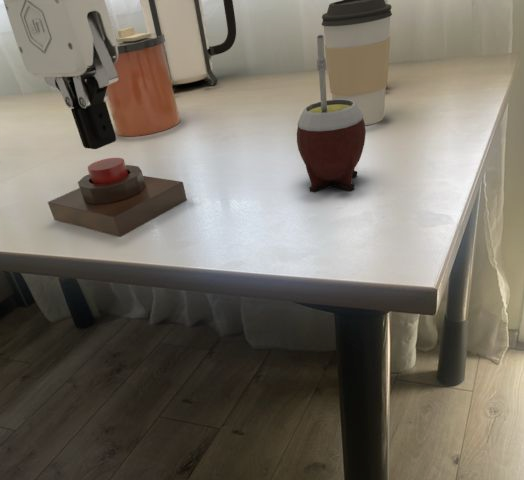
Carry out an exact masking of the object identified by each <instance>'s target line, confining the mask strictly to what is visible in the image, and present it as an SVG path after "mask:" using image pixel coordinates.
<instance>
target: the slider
mask: <svg viewBox="0 0 524 480" xmlns="http://www.w3.org/2000/svg"><path fill="white" fill-rule="evenodd" d="M117 35H118V38H116V39H117V40H118V42H129V41H137V40H141V39H144V38H148V37H151V36H152V35H151V33H147V32H143V33H136V31H135V27H134V26H130V27H126V28H121V29H118V30H117Z"/></svg>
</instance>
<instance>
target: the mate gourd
mask: <svg viewBox="0 0 524 480" xmlns="http://www.w3.org/2000/svg"><path fill="white" fill-rule="evenodd" d="M316 42H317V45H316V46H317V60H316V69H317V71H318V79H319V93H320V94H319V95H320V96H319V97H320V101H317V102H315V103H314V102H313V103H311V104H309V105H307V106H306V107H305V108H303V111H302V113H301V114H300V116H299V119H298V122H297V129H296V144H297V150H298V152H299V154H300V155H299V156H300V157H301V159H302V161H303V164H304V165H305V169H306V172H307V175H308V178H309V180H310V184H311V186H309V187H308V190H309V192H310V193H317V192H321V191H322V190H325V189H327V188H331V187H336V188H339V189H341V190H344V191H348V192H352V191H354V190H355V187H356V185H355V184H353V183H352V179H354V178H356V177H358V171H357V170H355V169H356V167H357V165H358V164H359V162H360V160H361V157H362V155H363V152H364V147H365V143H366V142H365V141H366V134H367V132H366V131H367V130H366V126H365V123H364V119H363V114H362V112H361V110H360V109H359V107H358V106H357V105H356V103H354V102H353V101H351V100H332V99H328V100H327V83H326V82H327V81H326V70H327V59H326V57H325V35H323V34H318V35H317V37H316Z"/></svg>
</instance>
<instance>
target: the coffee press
mask: <svg viewBox="0 0 524 480" xmlns="http://www.w3.org/2000/svg"><path fill="white" fill-rule="evenodd" d="M139 2H140V3H139V4H140V6H141V11H142V15H143V19H144V24H145V29H146V33H163V34H164V36H165V40H166V41H165V42H164V43H163V46H164V51H165V55H166V60H167V64H168V69H169V73H170V78H171V82H172V87H173V91H174V93H175V92H176V89H177V87H178V86H180V85H183V84H190V83H194V82H198V81H204V82H206V83H207V84H208V85H209V86H211V87H213V86H215V85H217V84H218V78H217V76H216V75H215V74H214V72H213V70H214V69H213V61H212V57H213V56H217V55H221V54H224V53H226V52H228V51H229V50H230V49H231V48H232V47H233V45H234V44H235V42H236V37H237V24H236V23H237V22H236V16H235V15H236V14H235V7H234V2H233V0H223V2H222V3H223V9H224V14H225V20H226V27H227V34H226V38H225V40H224V41H223V42H222V43H220V44H216V45H212V46H211V45H210V44H209V37H208V33H207V28H206V22H205V17H204V10H203V4H202V0H139ZM209 77H210V78H211V79H210V78H209Z"/></svg>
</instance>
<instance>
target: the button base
mask: <svg viewBox="0 0 524 480" xmlns="http://www.w3.org/2000/svg"><path fill="white" fill-rule="evenodd" d="M125 165H126V168H127V172H128V176H127V177H125V178H123V179H121V180H118V181H115V182H111V183H105V184H93V183H92V180H91V177H90V174H89V173H88V174H86V175H84V176H83V177H81V178H80V179H79V180H78V181H77V184H78V188H75V189H74V190H71V191H70V192H67V193H65V194H63V195H60V196H58V197H56V198H54V199H51V200H49V201H47V205H48V207H49V210H50V212H51V214H52V217H53V219H54V221H58V222H62V223H64V224H68V225H72V226H75V227H80V228H83V229H88V230H93V231H96V232H98V233H99V232H100V233H104V234H108V235H110V236H116V237H119V238H122V237H123V236H125V235H126V234H128V233H131V232H132V231H134V230H136V229H137V228H139V227H141V226H143V225H145V224H147V223H148V222H150V221H152V220H154V219H156V218H157V217H160V216H161V215H163V214H164V213H165V214H166V213H167V212H168V211H170V210H173V209H174V208H175V207H177V206H179V205H182V204H183V203H185V202H186V201H188V198H187V194H186V189H185V185H184V182H183V181H180V180H173V179H167V178H161V177H153V176H147V175H144V174H143V171H142V169H141V168H140V167H139V165H138V166H137V165H132V164H125Z"/></svg>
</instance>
